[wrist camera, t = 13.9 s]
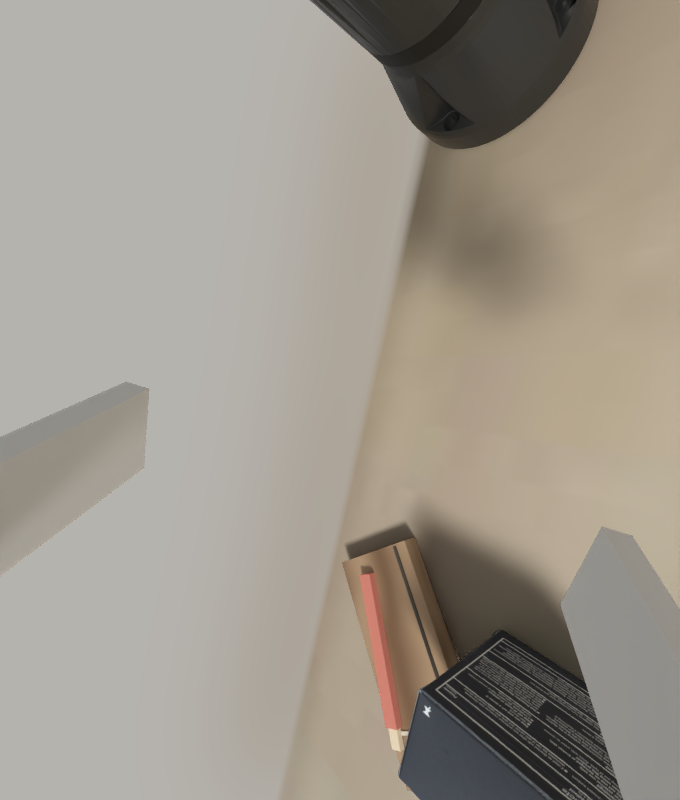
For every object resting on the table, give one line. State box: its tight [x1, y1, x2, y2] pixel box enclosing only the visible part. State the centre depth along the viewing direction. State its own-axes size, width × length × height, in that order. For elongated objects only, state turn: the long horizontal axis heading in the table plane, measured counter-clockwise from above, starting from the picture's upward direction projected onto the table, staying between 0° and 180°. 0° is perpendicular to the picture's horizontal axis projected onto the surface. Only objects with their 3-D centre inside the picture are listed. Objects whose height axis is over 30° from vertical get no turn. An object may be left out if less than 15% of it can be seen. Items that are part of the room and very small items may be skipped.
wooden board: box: [342, 538, 458, 790], centre depth 37 cm, size 8×18×2 cm, turn 24°
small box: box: [398, 630, 623, 800], centre depth 26 cm, size 11×6×10 cm, turn 73°
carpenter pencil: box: [360, 573, 404, 752], centre depth 38 cm, size 14×1×1 cm, turn 14°
